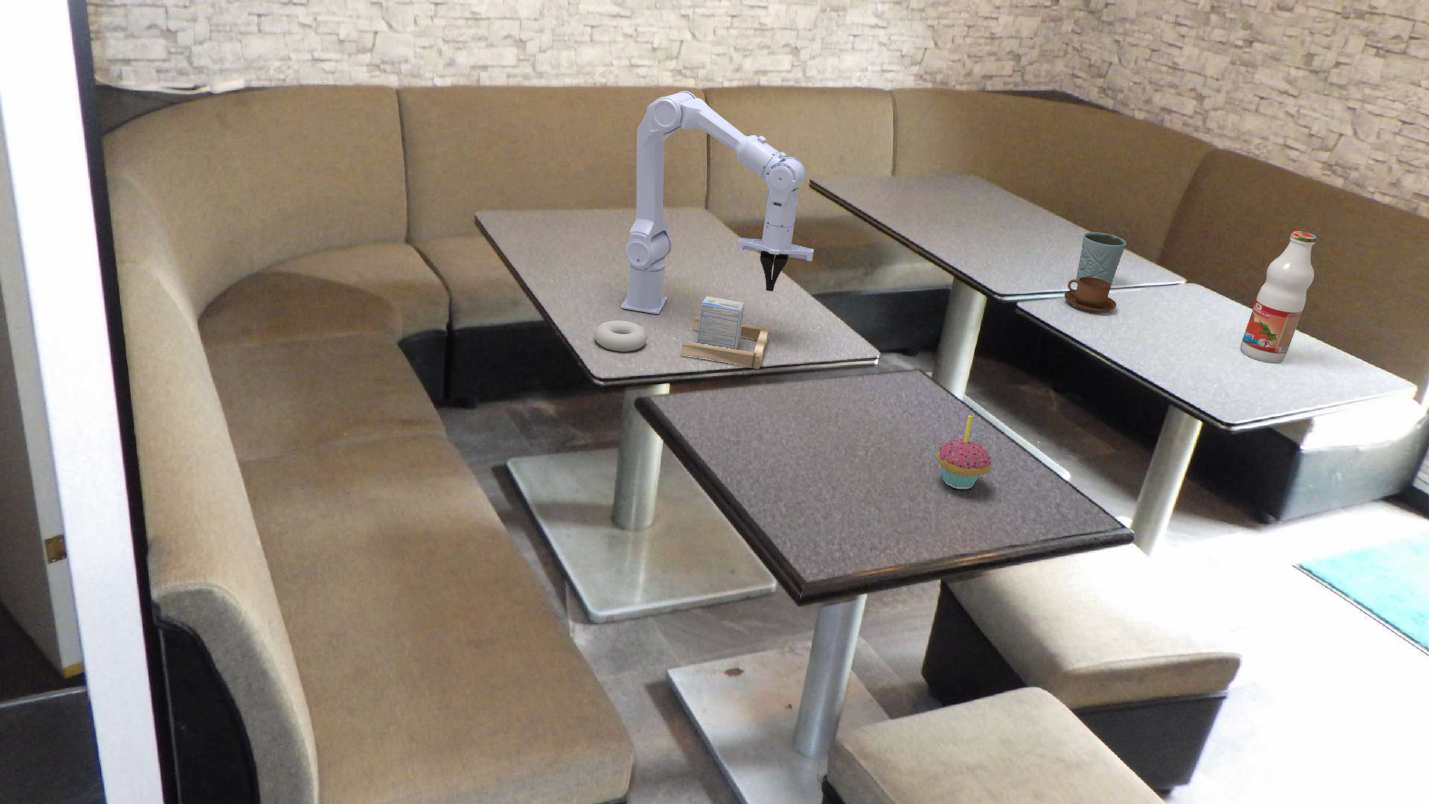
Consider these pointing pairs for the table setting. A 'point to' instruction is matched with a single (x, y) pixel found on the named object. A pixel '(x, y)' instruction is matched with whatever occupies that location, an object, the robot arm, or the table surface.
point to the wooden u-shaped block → (730, 354)
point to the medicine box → (720, 322)
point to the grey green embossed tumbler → (1100, 256)
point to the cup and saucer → (1090, 295)
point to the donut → (620, 336)
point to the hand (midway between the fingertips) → (769, 289)
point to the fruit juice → (1280, 301)
